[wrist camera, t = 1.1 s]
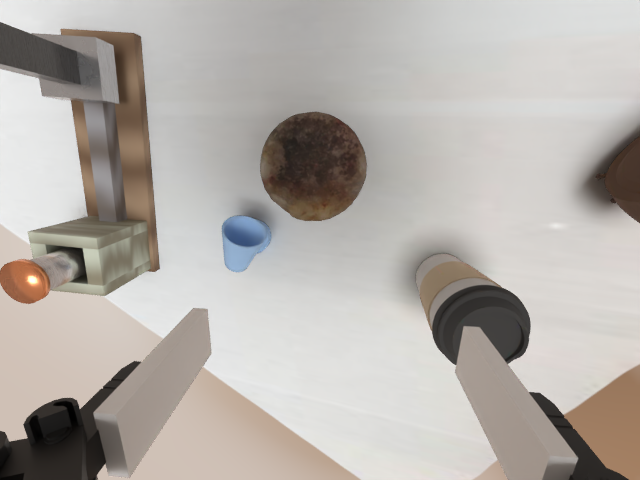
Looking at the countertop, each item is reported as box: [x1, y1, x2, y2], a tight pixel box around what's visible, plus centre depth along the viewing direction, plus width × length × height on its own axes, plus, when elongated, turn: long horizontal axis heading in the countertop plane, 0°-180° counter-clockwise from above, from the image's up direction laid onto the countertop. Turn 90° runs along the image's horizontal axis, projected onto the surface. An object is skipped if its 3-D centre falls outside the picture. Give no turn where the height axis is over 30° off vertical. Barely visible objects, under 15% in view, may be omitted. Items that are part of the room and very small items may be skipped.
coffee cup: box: [416, 254, 530, 365], centre depth 35 cm, size 9×9×15 cm
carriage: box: [0, 22, 119, 104], centre depth 29 cm, size 6×7×12 cm
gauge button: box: [0, 247, 86, 304], centre depth 33 cm, size 4×4×8 cm
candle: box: [260, 112, 367, 221], centre depth 29 cm, size 8×7×20 cm
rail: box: [28, 29, 160, 296], centre depth 36 cm, size 30×9×10 cm, turn 176°
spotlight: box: [222, 216, 271, 272], centre depth 37 cm, size 5×10×7 cm
